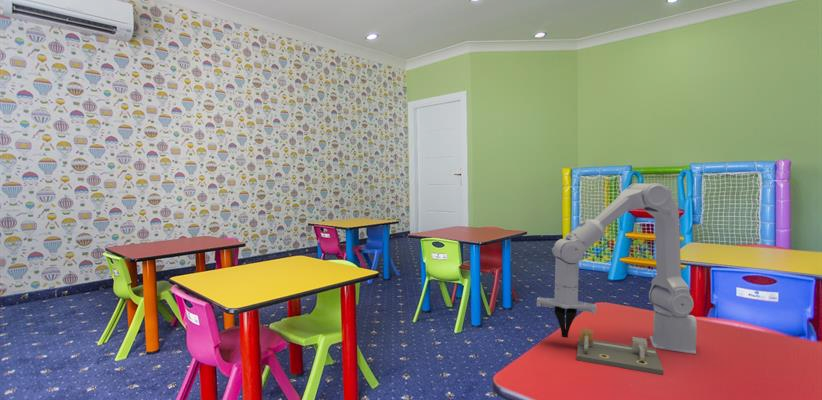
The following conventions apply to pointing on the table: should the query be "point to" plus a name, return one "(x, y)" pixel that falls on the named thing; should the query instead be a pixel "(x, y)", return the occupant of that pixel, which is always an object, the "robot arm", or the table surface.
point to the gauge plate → (619, 356)
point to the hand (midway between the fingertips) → (564, 336)
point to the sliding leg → (586, 338)
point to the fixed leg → (640, 346)
